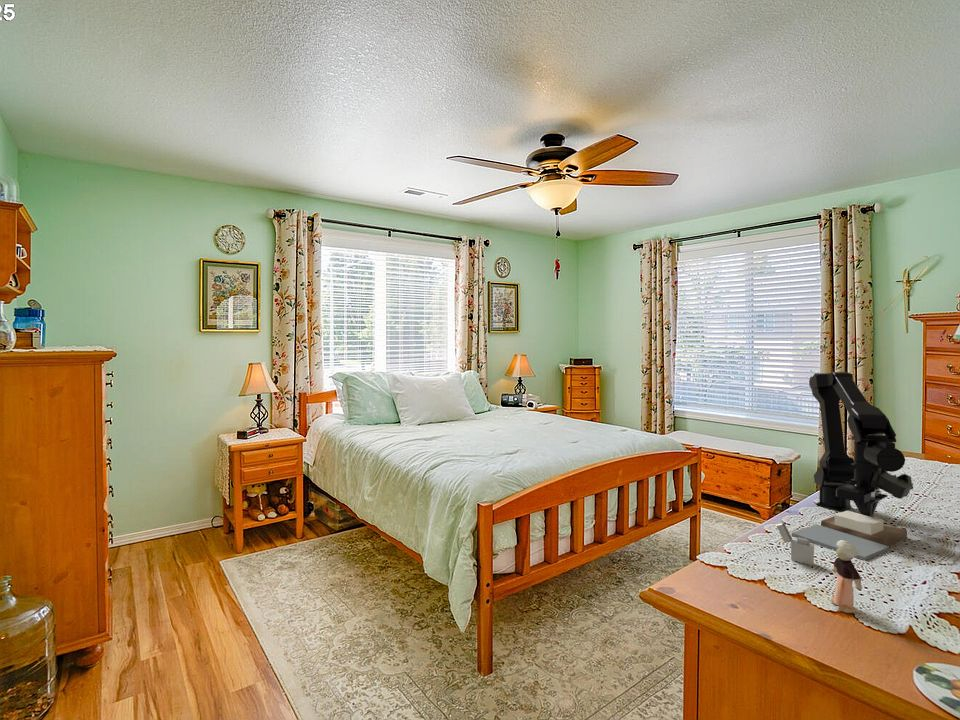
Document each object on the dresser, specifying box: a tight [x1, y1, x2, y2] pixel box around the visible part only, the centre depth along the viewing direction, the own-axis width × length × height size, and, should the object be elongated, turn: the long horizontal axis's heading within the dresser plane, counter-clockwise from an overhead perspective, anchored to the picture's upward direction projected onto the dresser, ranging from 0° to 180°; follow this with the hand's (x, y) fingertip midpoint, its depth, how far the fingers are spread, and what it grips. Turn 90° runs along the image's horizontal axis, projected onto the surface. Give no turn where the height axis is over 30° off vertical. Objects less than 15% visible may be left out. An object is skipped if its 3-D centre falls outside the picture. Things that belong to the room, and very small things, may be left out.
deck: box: [820, 515, 908, 547], centre depth 125 cm, size 14×11×2 cm
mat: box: [791, 523, 890, 561], centre depth 120 cm, size 16×11×1 cm
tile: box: [834, 510, 885, 535], centre depth 124 cm, size 8×6×2 cm
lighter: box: [775, 521, 815, 566], centre depth 111 cm, size 7×2×8 cm, turn 47°
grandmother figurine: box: [830, 540, 863, 614], centre depth 92 cm, size 8×4×13 cm, turn 5°
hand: (867, 521), depth 126 cm, fingers closed
